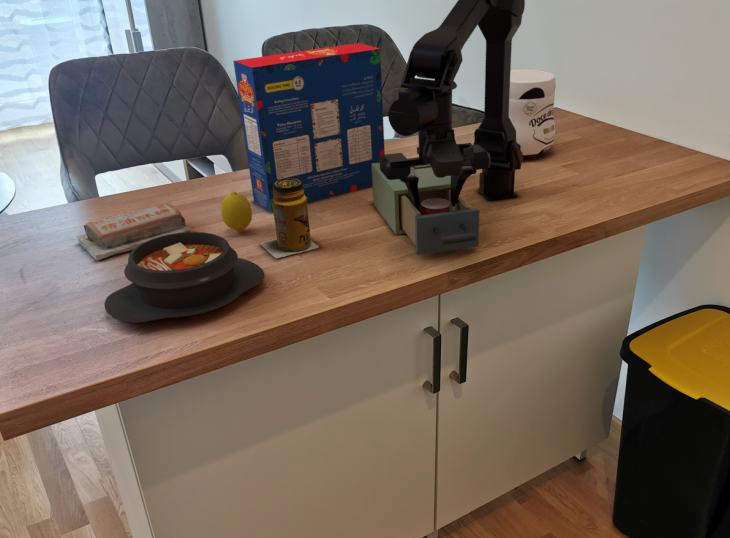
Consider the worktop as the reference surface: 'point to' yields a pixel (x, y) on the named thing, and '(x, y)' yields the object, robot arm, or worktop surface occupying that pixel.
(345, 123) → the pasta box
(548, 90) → the milk container
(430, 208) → the can
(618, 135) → the worktop surface
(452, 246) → the drawer
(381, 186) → the cabinet
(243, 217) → the lemon
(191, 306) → the casserole
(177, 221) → the packaged product
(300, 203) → the condiment
